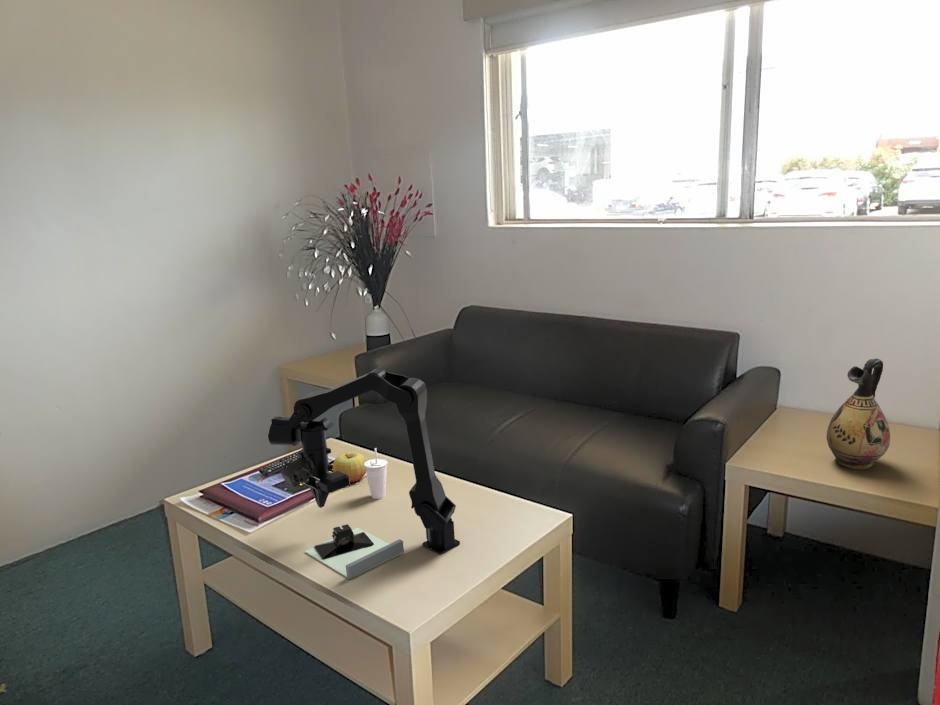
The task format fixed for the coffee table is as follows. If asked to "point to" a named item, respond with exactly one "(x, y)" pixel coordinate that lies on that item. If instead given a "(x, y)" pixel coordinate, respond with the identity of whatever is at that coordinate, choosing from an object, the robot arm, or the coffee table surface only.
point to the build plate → (343, 542)
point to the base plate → (361, 556)
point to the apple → (350, 465)
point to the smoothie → (376, 476)
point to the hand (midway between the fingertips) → (321, 506)
